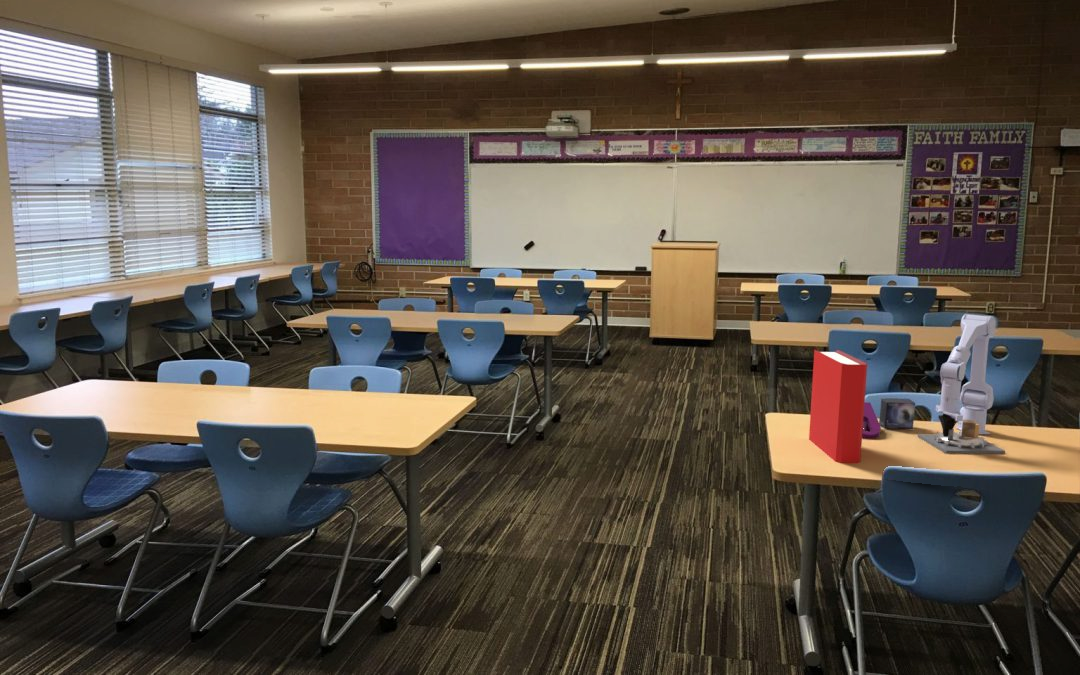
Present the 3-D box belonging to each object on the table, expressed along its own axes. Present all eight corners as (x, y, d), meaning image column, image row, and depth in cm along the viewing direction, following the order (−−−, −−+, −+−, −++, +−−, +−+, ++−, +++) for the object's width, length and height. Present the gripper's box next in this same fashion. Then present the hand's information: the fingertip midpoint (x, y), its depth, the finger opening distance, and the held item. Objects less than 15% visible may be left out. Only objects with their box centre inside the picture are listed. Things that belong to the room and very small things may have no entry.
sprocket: (932, 444, 289) (934, 429, 288) (935, 433, 303) (936, 418, 302) (986, 450, 282) (988, 435, 281) (986, 439, 296) (987, 424, 295)
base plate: (917, 437, 302) (918, 420, 301) (972, 437, 303) (974, 420, 302) (945, 453, 282) (947, 436, 281) (1004, 453, 283) (1006, 436, 282)
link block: (961, 436, 294) (962, 421, 293) (961, 433, 297) (962, 419, 297) (974, 437, 292) (975, 423, 291) (974, 434, 296) (975, 420, 295)
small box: (884, 429, 312) (886, 401, 310) (878, 425, 318) (880, 397, 317) (913, 430, 312) (916, 402, 310) (906, 425, 318) (909, 398, 316)
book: (808, 439, 298) (814, 349, 293) (831, 439, 298) (837, 349, 293) (837, 463, 271) (843, 364, 266) (861, 463, 271) (869, 364, 266)
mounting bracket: (878, 452, 303) (865, 419, 318) (883, 435, 298) (870, 402, 313) (851, 452, 304) (839, 419, 319) (856, 434, 299) (844, 401, 314)
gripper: (928, 392, 295) (925, 430, 298) (949, 402, 281) (946, 442, 283) (948, 392, 296) (945, 430, 298) (970, 402, 281) (966, 442, 283)
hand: (946, 436), depth 291 cm, fingers closed
